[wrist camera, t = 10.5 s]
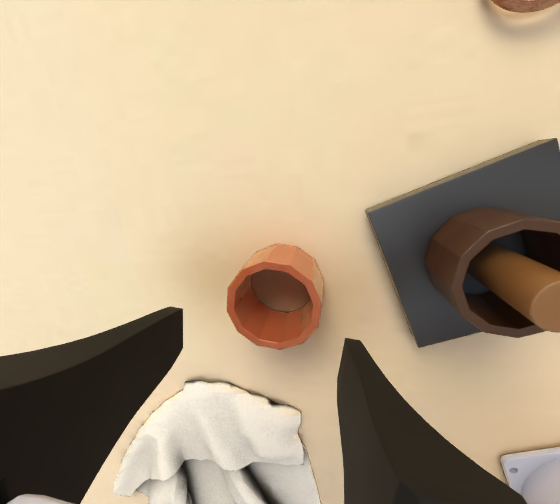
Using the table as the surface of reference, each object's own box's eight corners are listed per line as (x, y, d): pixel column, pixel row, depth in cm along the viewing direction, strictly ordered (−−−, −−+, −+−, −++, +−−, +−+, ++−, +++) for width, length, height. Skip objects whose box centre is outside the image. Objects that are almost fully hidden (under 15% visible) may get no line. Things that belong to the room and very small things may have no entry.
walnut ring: (544, 282, 15) (608, 316, 12) (441, 311, 16) (471, 349, 13) (520, 191, 14) (583, 198, 10) (413, 230, 15) (437, 248, 12)
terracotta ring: (334, 303, 19) (335, 334, 15) (264, 326, 20) (251, 358, 16) (303, 232, 18) (297, 248, 14) (232, 261, 19) (211, 281, 15)
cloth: (318, 382, 20) (317, 409, 18) (329, 576, 26) (329, 615, 24) (79, 370, 24) (53, 391, 22) (135, 543, 30) (119, 574, 28)
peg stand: (575, 293, 16) (750, 382, 9) (413, 337, 18) (460, 432, 12) (539, 140, 14) (723, 114, 8) (365, 209, 17) (389, 236, 10)
